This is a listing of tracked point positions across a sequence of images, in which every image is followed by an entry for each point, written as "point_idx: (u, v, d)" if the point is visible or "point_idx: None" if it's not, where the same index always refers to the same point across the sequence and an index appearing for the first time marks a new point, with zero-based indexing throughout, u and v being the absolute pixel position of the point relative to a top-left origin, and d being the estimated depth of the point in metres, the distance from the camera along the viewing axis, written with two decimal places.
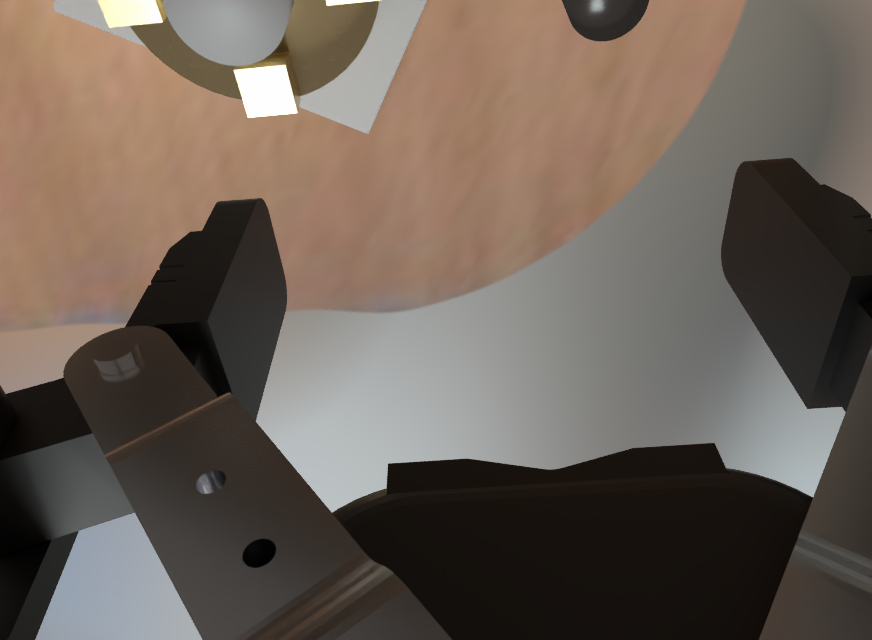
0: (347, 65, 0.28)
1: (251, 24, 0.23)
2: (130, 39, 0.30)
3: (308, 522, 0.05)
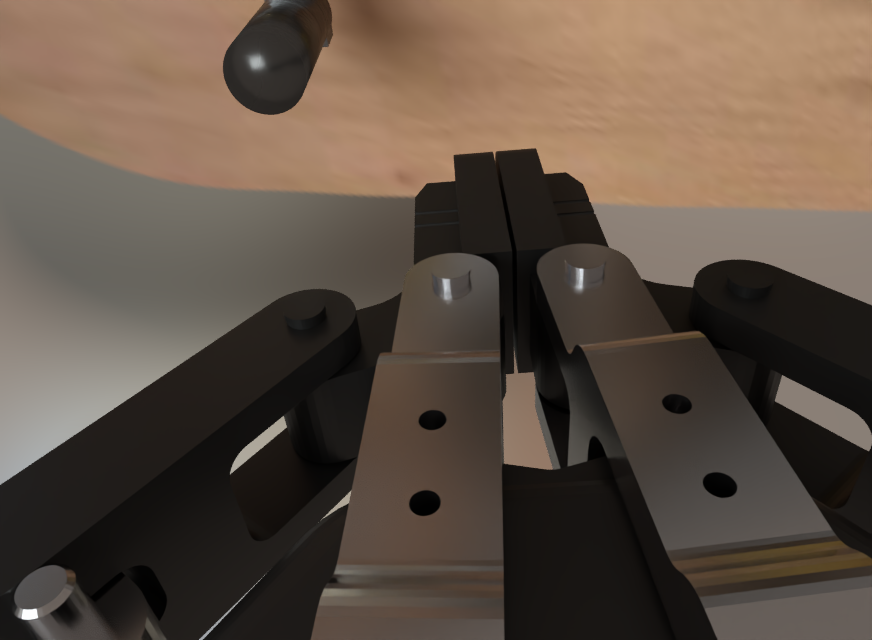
0: None
1: None
2: None
3: (477, 505, 0.05)
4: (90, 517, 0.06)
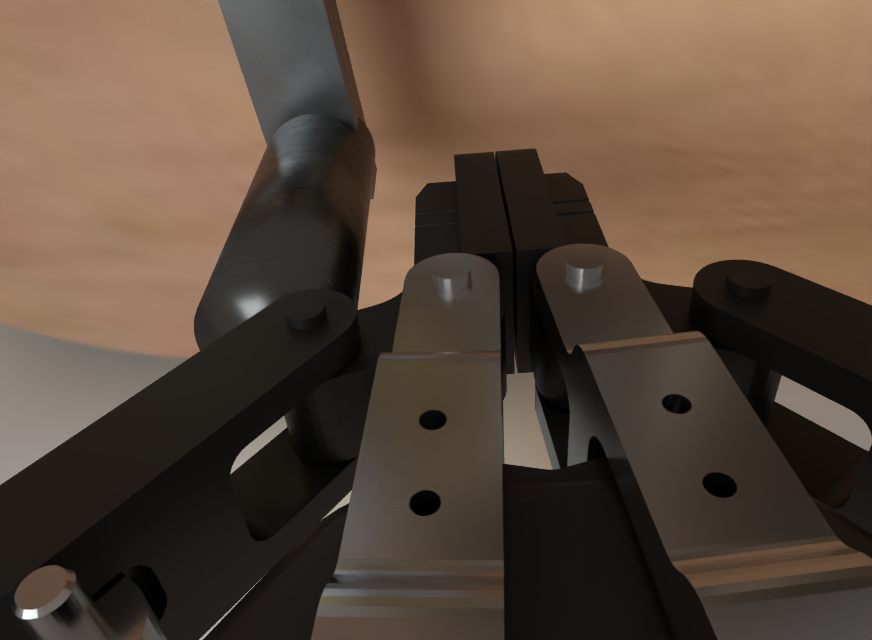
0: None
1: None
2: None
3: (477, 504, 0.05)
4: (90, 517, 0.06)
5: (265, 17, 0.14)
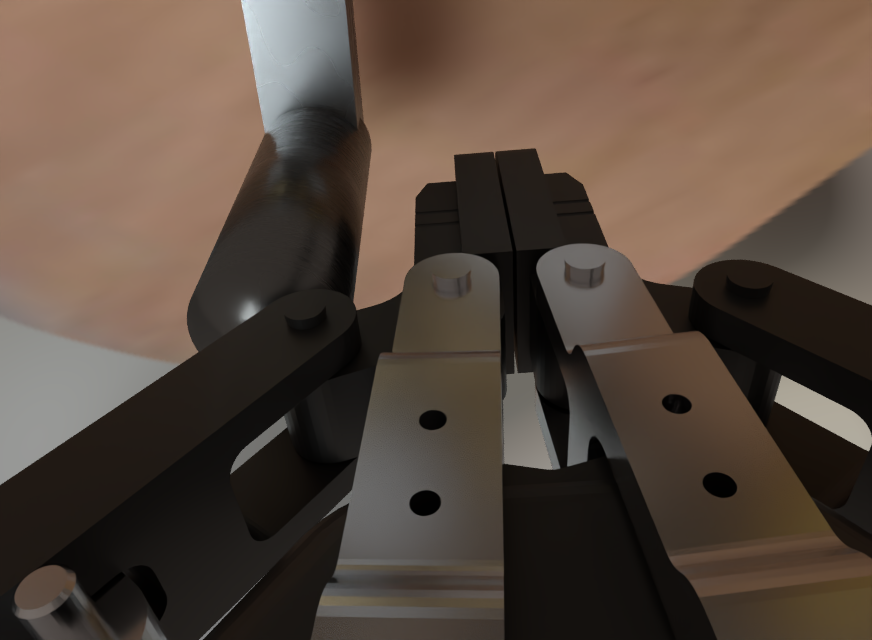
0: None
1: None
2: None
3: (477, 504, 0.05)
4: (90, 517, 0.06)
5: (283, 4, 0.14)
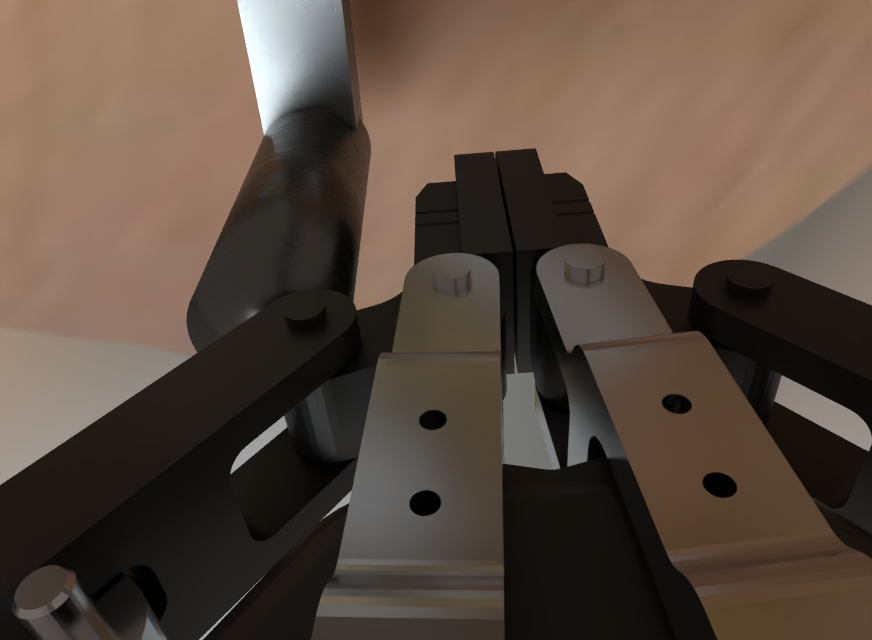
0: None
1: None
2: None
3: (477, 505, 0.05)
4: (90, 517, 0.06)
5: (280, 6, 0.14)
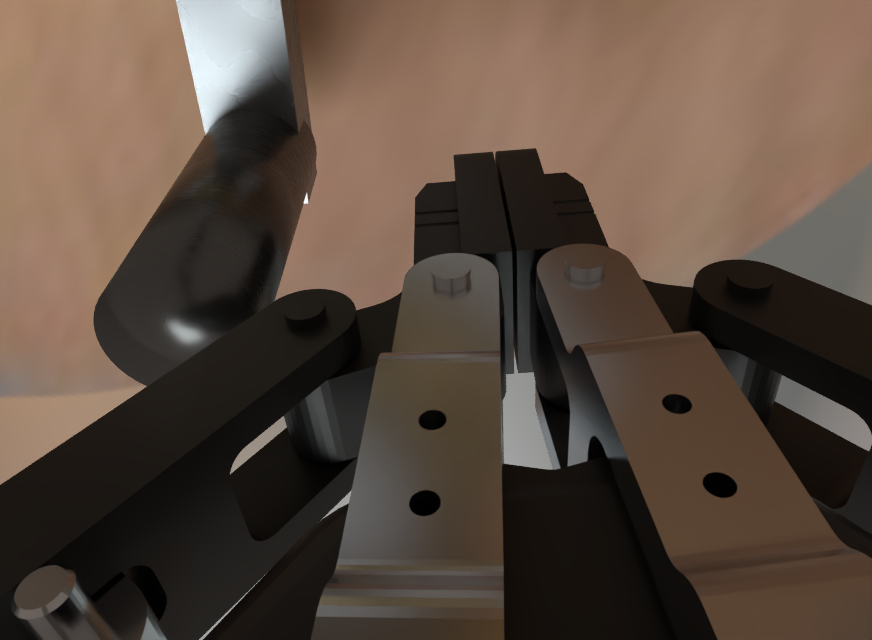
0: None
1: None
2: None
3: (477, 504, 0.05)
4: (90, 517, 0.06)
5: (218, 6, 0.13)
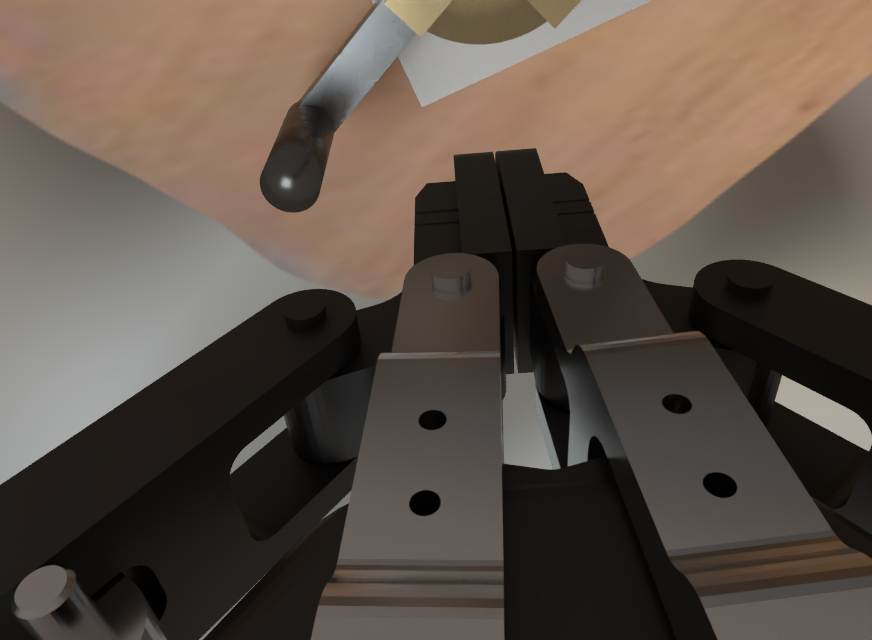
0: None
1: None
2: None
3: (477, 504, 0.05)
4: (90, 517, 0.06)
5: (346, 75, 0.32)
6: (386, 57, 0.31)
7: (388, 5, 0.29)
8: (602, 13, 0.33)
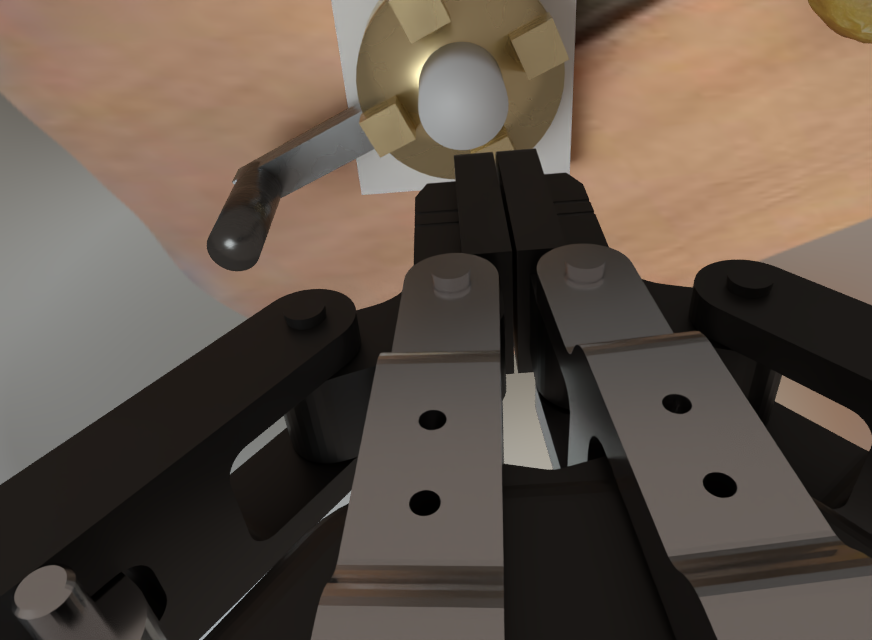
0: (362, 43, 0.32)
1: (460, 127, 0.31)
2: None
3: (477, 504, 0.05)
4: (90, 517, 0.06)
5: (307, 158, 0.36)
6: (346, 156, 0.36)
7: (361, 125, 0.33)
8: None
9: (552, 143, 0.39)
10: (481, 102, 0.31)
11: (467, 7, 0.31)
